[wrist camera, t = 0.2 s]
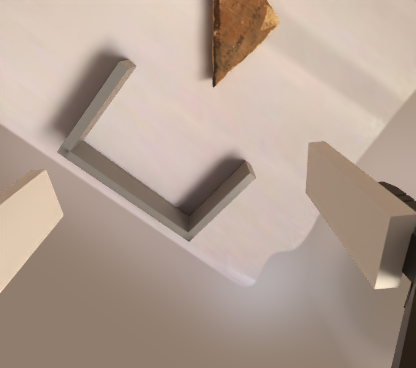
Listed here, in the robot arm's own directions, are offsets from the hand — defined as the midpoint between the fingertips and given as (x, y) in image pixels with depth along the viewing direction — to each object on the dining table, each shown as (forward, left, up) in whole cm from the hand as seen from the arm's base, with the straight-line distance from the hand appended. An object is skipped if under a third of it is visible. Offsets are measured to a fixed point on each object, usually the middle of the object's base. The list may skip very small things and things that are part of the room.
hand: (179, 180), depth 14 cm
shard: (0, +8, -28) cm, 29 cm away
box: (+6, -8, -27) cm, 29 cm away
